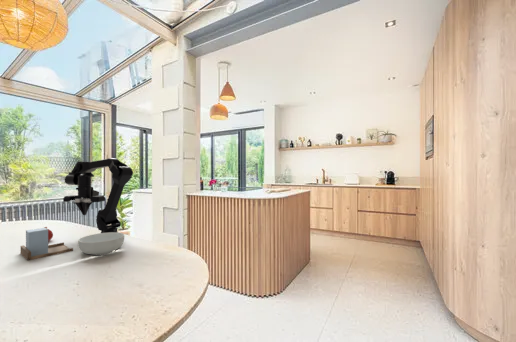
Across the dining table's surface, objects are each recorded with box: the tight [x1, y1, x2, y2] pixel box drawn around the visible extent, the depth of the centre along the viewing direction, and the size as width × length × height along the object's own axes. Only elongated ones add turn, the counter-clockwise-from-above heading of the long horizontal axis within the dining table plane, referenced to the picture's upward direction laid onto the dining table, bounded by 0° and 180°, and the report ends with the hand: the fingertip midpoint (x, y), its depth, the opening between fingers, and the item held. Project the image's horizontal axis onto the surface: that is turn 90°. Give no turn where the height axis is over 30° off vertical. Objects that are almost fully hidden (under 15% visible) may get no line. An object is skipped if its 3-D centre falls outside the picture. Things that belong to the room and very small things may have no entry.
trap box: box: [20, 242, 74, 261], centre depth 103 cm, size 14×13×4 cm
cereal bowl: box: [77, 231, 125, 257], centre depth 105 cm, size 17×17×7 cm
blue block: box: [25, 227, 49, 257], centre depth 100 cm, size 6×5×10 cm
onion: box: [43, 226, 54, 242], centre depth 117 cm, size 6×6×8 cm
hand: (84, 215), depth 127 cm, fingers closed
